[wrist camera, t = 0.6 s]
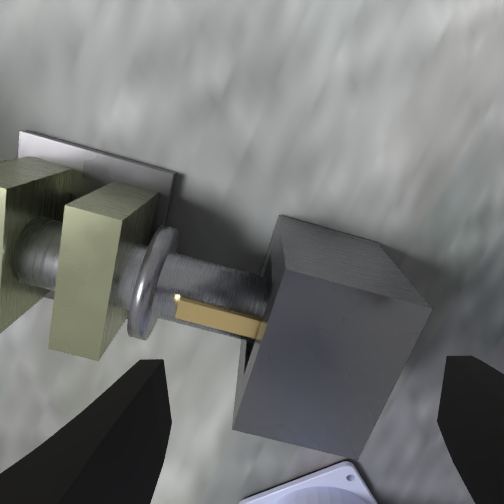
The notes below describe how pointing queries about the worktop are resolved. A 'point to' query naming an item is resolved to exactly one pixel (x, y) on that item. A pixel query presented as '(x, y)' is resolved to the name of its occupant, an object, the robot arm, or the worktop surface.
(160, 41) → the worktop surface
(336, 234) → the grey housing block
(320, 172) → the worktop surface
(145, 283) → the shaft rig
